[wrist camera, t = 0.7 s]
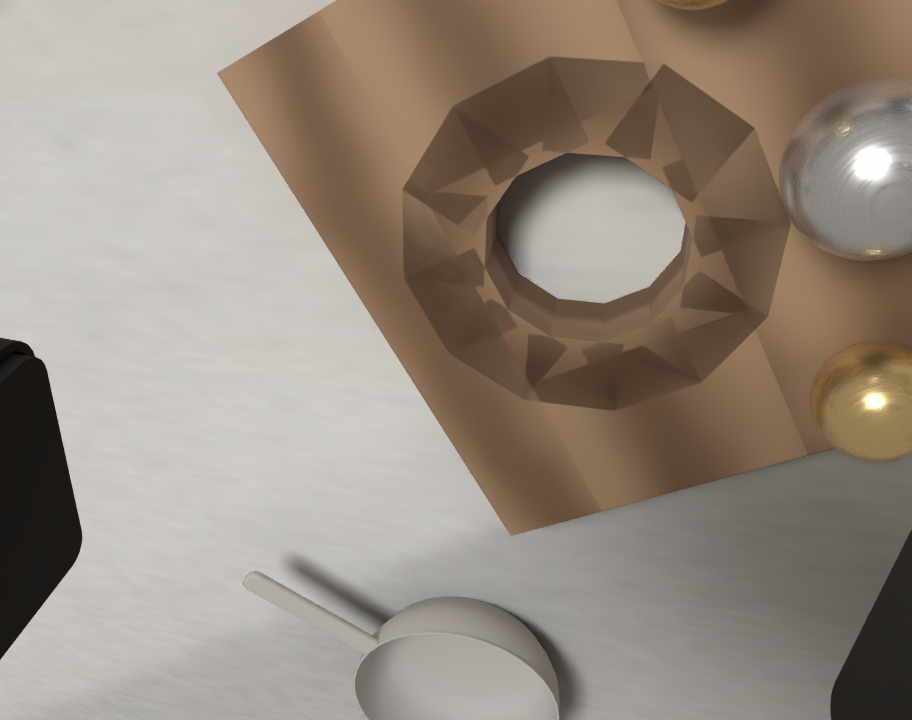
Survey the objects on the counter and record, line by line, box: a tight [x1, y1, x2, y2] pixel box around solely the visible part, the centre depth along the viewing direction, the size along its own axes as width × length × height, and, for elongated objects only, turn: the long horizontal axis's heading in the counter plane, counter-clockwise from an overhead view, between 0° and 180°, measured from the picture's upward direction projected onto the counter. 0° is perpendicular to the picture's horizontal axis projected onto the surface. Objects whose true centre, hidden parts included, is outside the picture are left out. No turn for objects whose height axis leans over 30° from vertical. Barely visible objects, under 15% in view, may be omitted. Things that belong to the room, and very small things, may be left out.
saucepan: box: [243, 571, 560, 720], centre depth 45 cm, size 11×18×4 cm, turn 54°
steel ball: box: [779, 78, 912, 261], centre depth 24 cm, size 5×5×5 cm
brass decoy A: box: [810, 341, 912, 462], centre depth 28 cm, size 4×4×4 cm
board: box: [217, 0, 912, 536], centre depth 30 cm, size 23×22×3 cm
